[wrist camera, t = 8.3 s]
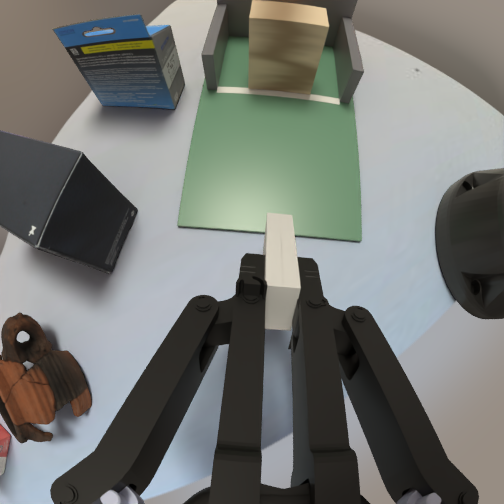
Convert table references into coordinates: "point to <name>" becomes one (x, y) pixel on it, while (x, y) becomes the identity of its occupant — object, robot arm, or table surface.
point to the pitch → (275, 136)
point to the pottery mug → (36, 381)
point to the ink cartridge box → (3, 448)
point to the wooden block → (285, 45)
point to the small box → (61, 202)
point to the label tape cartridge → (126, 61)
